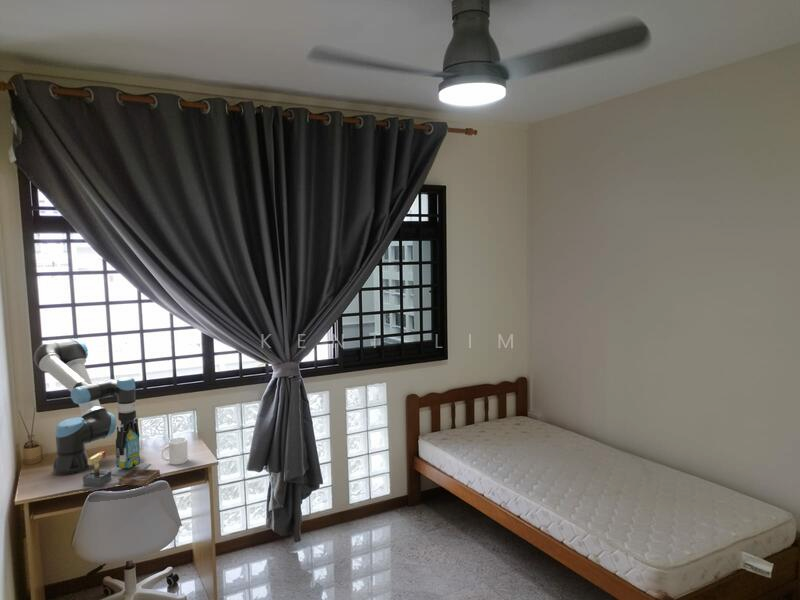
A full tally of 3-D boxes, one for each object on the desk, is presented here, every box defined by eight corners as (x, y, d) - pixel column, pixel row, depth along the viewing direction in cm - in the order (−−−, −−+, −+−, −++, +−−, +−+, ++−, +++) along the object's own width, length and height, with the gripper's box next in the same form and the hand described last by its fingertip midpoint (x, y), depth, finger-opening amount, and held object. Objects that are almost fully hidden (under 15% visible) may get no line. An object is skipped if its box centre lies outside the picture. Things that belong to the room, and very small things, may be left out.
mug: (159, 462, 273) (159, 441, 272) (185, 457, 280) (184, 436, 279) (163, 468, 266) (163, 446, 265) (189, 462, 273) (189, 441, 272)
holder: (119, 484, 247) (119, 478, 247) (133, 473, 259) (133, 468, 258) (146, 485, 246) (146, 480, 246) (159, 475, 258) (159, 469, 257)
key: (92, 477, 244) (91, 459, 243) (88, 477, 244) (87, 458, 243) (105, 469, 253) (105, 451, 252) (101, 469, 253) (101, 451, 252)
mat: (106, 475, 257) (105, 473, 257) (123, 463, 271) (123, 462, 271) (135, 476, 256) (135, 475, 256) (150, 464, 270) (150, 463, 270)
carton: (128, 469, 258) (127, 431, 256) (116, 467, 261) (114, 429, 259) (141, 464, 265) (140, 427, 263) (128, 461, 268) (127, 425, 266)
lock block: (83, 485, 245) (82, 477, 245) (94, 478, 253) (94, 469, 253) (100, 486, 244) (100, 477, 244) (111, 479, 252) (111, 470, 252)
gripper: (121, 418, 250) (123, 466, 252) (146, 404, 271) (148, 449, 273) (105, 417, 250) (107, 466, 252) (131, 404, 271) (133, 449, 273)
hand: (128, 457), depth 263 cm, fingers closed on carton, 8 cm apart
